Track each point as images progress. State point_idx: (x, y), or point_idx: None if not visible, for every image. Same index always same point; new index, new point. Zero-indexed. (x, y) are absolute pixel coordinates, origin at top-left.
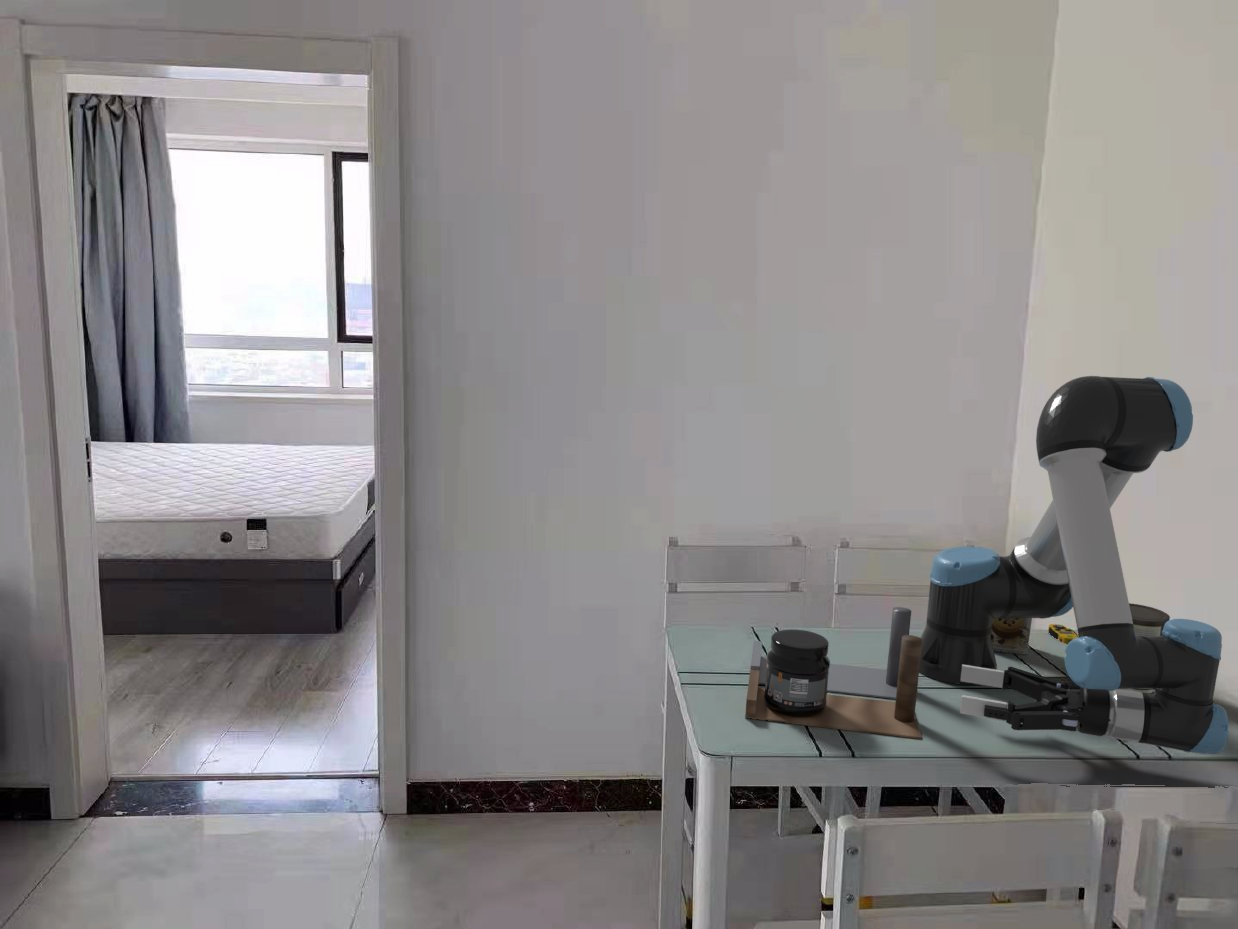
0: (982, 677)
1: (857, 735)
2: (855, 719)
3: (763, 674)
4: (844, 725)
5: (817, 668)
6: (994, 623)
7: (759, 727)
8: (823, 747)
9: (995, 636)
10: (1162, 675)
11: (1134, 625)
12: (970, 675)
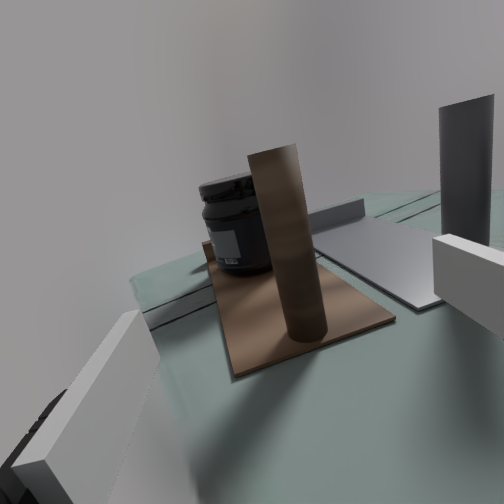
0: (498, 304)
1: (208, 316)
2: (254, 298)
3: (319, 230)
4: (225, 298)
5: (212, 213)
6: None
7: (192, 271)
8: (158, 310)
9: None
10: None
11: None
12: (458, 281)
